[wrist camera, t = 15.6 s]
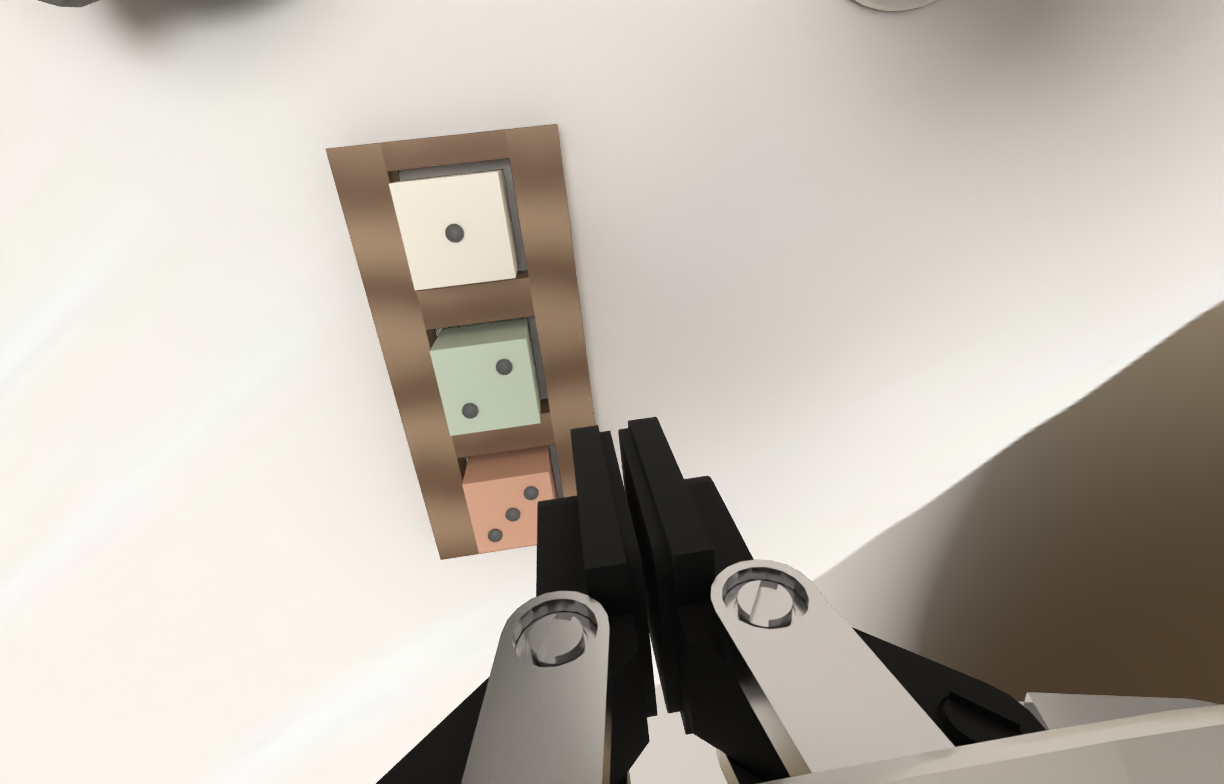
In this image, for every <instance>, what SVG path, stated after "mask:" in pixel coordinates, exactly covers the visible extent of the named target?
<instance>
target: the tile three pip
mask: <svg viewBox="0 0 1224 784" xmlns="http://www.w3.org/2000/svg"><path fill="white" fill-rule="evenodd" d="M462 486H463V490H464V494H465V498H466V502H467V506H468V510H469V514H470V518H471V523H472V527H473V531H474V535H475V539H476V543H477V547H478V551H479V554H480V553H486V552H493V551H499V550H506V549H512V548H518V547H525V546H531V545H537V506H538V501H543V500H550V499H557V492H556V486H555V480H554V474H553V468H552V462H551V456H550V450H549V445H544V446H537V447H530V448H524V449H517V450H510V451H503V452H496V453H489V454H482V455H475V456H469V458H468V462H467V467H466V471H465V475H464V479H463V483H462Z"/></svg>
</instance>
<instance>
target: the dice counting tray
mask: <svg viewBox="0 0 1224 784" xmlns="http://www.w3.org/2000/svg"><path fill="white" fill-rule="evenodd" d="M326 152H327V156H328V160H329V163H330V167H331V170H332V174H333V177H334V181H335V185H336V188H337V192H338V195H339V199H340V202H341V206H342V209H343V213H344V217H345V220H346V224H347V227H348V231H349V234H350V238H351V242H352V245H353V249H354V252H355V256H356V259H357V263H358V267H359V270H360V274H361V277H362V281H363V284H364V288H365V291H366V295H367V299H368V302H369V306H370V309H371V313H372V316H373V320H374V324H375V327H376V331H377V334H378V338H379V341H380V345H381V349H382V352H383V356H384V359H385V363H386V366H387V370H388V374H389V377H390V381H391V384H392V388H393V391H394V395H395V398H396V402H397V406H398V409H399V413H400V416H401V420H402V423H403V427H404V431H405V434H406V438H407V441H408V445H409V448H410V452H411V456H412V459H413V463H414V466H415V470H416V473H417V477H418V480H419V484H420V488H421V491H422V495H423V498H424V502H425V505H426V509H427V513H428V516H429V520H430V523H431V527H432V530H433V534H434V538H435V541H436V545H437V548H438V552H439V555H440V559H441V560H443V559H449V558H455V557H462V556H468V555H475V554H479V551H478V547H477V543H476V539H475V535H474V531H473V527H472V523H471V518H470V514H469V510H468V506H467V502H466V498H465V494H464V490H463V486H462V483H463V479H464V475H465V471H466V467H467V463H466V459H465V457H468V456H475V455H482V454H489V453H496V452H503V451H510V450H517V449H524V448H530V447H537V446H544V445H551V444H555V445H556V452H557V458H558V464H559V470H560V476H561V483H562V489H563V495H564V497H570V496H577V491H576V481H575V471H574V462H573V452H572V442H571V433H570V429H574V428H581V427H588V426H595V420H594V412H593V404H592V396H591V388H590V380H589V372H588V364H587V356H586V348H585V341H584V333H583V325H582V317H581V309H580V301H579V293H578V285H577V277H576V269H575V261H574V253H573V245H572V237H571V230H570V222H569V214H568V206H567V198H566V190H565V182H564V174H563V166H562V158H561V150H560V142H559V134H558V126H557V124H552V125H542V126H533V127H524V128H514V129H505V130H496V131H486V132H477V133H467V134H458V135H449V136H439V137H430V138H421V139H411V140H402V141H392V142H383V143H374V144H364V145H355V146H346V147H336V148H327V149H326ZM504 158H509V159H510V165H511V171H512V178H513V184H514V190H515V196H516V202H517V209H518V215H519V221H520V227H521V234H522V240H523V246H524V252H525V258H526V265H527V270H525V271H517V274H516V278H512V279H504V280H496V281H488V282H480V283H471V284H463V285H455V286H447V287H439V288H431V289H423V290H415V289H414V285H413V281H412V277H411V273H410V269H409V265H408V261H407V256H406V252H405V248H404V244H403V240H402V236H401V232H400V228H399V224H398V220H397V216H396V211H395V207H394V203H393V199H392V195H391V191H390V187H389V184H390V183H394V182H399V181H400V180H399V176H398V171H397V170H404V169H413V168H422V167H431V166H440V165H449V164H458V163H467V162H477V161H486V160H495V159H504ZM530 316H535V321H536V327H537V333H538V339H539V346H540V352H541V358H542V364H543V371H544V377H545V383H546V389H547V395H548V399H541V400H540V423H538V424H531V425H524V426H517V427H510V428H503V429H496V430H489V431H482V432H475V433H468V434H461V435H453V436H450V433H449V429H448V424H447V420H446V416H445V412H444V408H443V404H442V400H441V396H440V392H439V388H438V384H437V379H436V375H435V371H434V367H433V363H432V359H431V355H430V349H431V348H432V346H433V344H434V342H435V341H436V339H437V336H436V332H435V329H436V328H444V327H452V326H460V325H467V324H475V323H483V322H491V321H499V320H506V319H514V318H522V317H530ZM531 546H533V545H531ZM525 547H526V546H525ZM518 548H520V547H518ZM512 549H513V548H512ZM506 550H507V549H506ZM499 551H501V550H499ZM493 552H494V551H493ZM486 553H488V552H486ZM480 554H481V553H480Z"/></svg>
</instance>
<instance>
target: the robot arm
mask: <svg viewBox="0 0 1224 784" xmlns="http://www.w3.org/2000/svg"><path fill="white" fill-rule="evenodd" d="M855 1H856V2H858V3H860V4H862V5H863V6H866V7H870V8H874V9H877V10H881V11H904V10H909V9H913V8H918V7H921V6H924V5H926V4H929V3H931V2H934V1H937V0H855ZM570 433H571V442H572V452H573V462H574V471H575V481H576V491H577V496H570V497H563V498H557V499H550V500H543V501H538V506H537V583H536V597H535V598H533V599H530V600H529V601H527V602H526V603H525V604H523V605H522V606H520V607H519V608H517V610H516V611H515V612H514V613H513V614H512V615H511V616H510V617H509V619H508V620H507V622H506V624H505V626H504V628H503V631H502V633H501V636H500V640H499V644H498V647H497V651H496V655H495V659H494V662H493V666H492V670H491V674H490V677H489V678H488V679H486V680H485V681H484V682H483V683H482V684H481V685H480V686H479V687H478V688H477V689H476V690H475V691H474V692H473V693H472V694H471V695H469V696H468V697H467V698H466V699H465V700H464V701H463V702H462V703H461V704H460V705H459V706H458V707H457V708H456V709H455V710H454V711H452V712H451V713H450V714H449V715H448V716H447V717H446V718H445V719H444V720H443V721H442V722H441V723H440V724H439V725H438V726H437V727H435V728H434V729H433V730H432V731H431V732H430V733H429V734H428V735H427V736H426V737H425V738H424V739H423V740H422V741H421V742H419V743H418V744H417V745H416V746H415V747H414V748H413V749H412V750H411V751H410V752H409V753H408V754H407V755H406V756H405V757H404V758H402V759H401V760H400V761H399V762H398V763H397V764H396V765H395V766H394V767H393V768H392V769H391V770H390V771H389V772H388V773H387V774H385V775H384V776H383V777H382V778H381V779H380V780H379V781H378V782H377V783H376V784H631V782H630V774H629V769H630V768H631V766H632V765H633V764H634V762H635V761H636V759H637V758H638V756H639V755H640V754H641V752H642V751H643V750H644V748H645V747H646V745H647V744H648V742H649V734H648V724H647V717H651V716H657V705H656V695H655V685H654V675H653V665H652V655H651V645H650V637H651V642H652V646H653V651H654V655H655V660H656V664H657V669H658V673H659V677H660V682H661V686H662V691H663V695H664V700H665V704H666V708H667V711H668V713H673V712H679V711H680V713H681V717H682V721H683V725H684V729H685V733H686V734H692V733H693V734H695V735H697V736H698V737H700V738H701V739H703V740H704V741H706V742H707V743H709V744H711V745H712V746H714V747H716V748H717V756H718V760H719V764H720V767H721V770H722V772H723V774H724V776H725V778H726V781H727V783H728V784H1224V705H1218V704H1215V703H1210V702H1204V701H1198V700H1192V699H1176V698H1151V697H1127V696H1101V695H1075V694H1052V693H1027V695H1026V698H1025V702H1018V701H1016V700H1015V699H1014V698H1013V697H1011V696H1010V695H1008V694H1007V693H1005V692H1003V691H1001V690H999V689H997V688H995V687H993V686H991V685H989V684H987V683H985V682H982V681H980V680H978V679H975V678H973V677H970V676H968V675H966V674H963V673H961V672H958V671H956V670H953V669H951V668H949V667H946V666H944V665H941V664H939V663H937V662H934V661H932V660H930V659H927V658H925V657H922V656H920V655H917V654H915V653H913V652H910V651H908V650H905V649H903V648H900V647H898V646H896V645H893V644H891V643H888V642H886V641H884V640H881V639H879V638H876V637H874V636H871V635H869V634H867V633H864V632H862V631H859V630H857V629H855V628H852V627H851V626H850V625H849V624H848V623H847V622H846V620H845V619H844V618H843V617H842V616H841V615H840V613H839V612H838V611H837V610H836V609H835V608H834V607H833V606H832V604H831V603H830V602H829V601H828V600H827V599H826V597H825V596H824V595H823V594H822V593H821V592H820V591H819V589H818V588H817V587H816V586H815V585H814V583H813V582H812V581H811V580H809V579H808V578H807V577H806V576H805V575H804V574H803V573H801V572H800V571H798V570H796V569H794V568H792V567H790V566H788V565H786V564H782V563H778V562H775V561H771V560H754V559H753V557H752V555H751V554H750V552H749V550H748V548H747V546H746V544H745V542H744V540H743V538H742V536H741V534H740V532H739V530H738V529H737V527H736V525H735V523H734V521H733V519H732V517H731V515H730V513H729V511H728V509H727V507H726V505H725V504H724V502H723V500H722V498H721V496H720V494H719V492H718V490H717V488H716V486H715V484H714V482H713V481H712V479H711V478H710V477H709V476H703V477H696V478H690V479H683V476H682V474H681V472H680V469H679V467H678V465H677V462H676V460H675V458H674V455H673V453H672V451H671V449H670V446H669V444H668V442H667V439H666V437H665V435H664V433H663V430H662V428H661V426H660V423H659V421H658V419H657V417H652V418H645V419H637V420H630V421H628V428H626V429H619V442H620V451H621V461H622V470H623V479H624V485H623V481H622V477H621V473H620V469H619V465H618V461H617V457H616V453H615V449H614V445H613V441H612V437H611V433H610V431H605V432H599V428H598V425H595V426H588V427H581V428H574V429H570ZM624 488H625V490H624ZM649 633H650V635H649Z"/></svg>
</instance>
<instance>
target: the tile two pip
mask: <svg viewBox="0 0 1224 784" xmlns="http://www.w3.org/2000/svg"><path fill="white" fill-rule="evenodd" d="M430 355H431V359H432V363H433V367H434V371H435V375H436V379H437V384H438V388H439V392H440V396H441V400H442V404H443V408H444V412H445V416H446V420H447V424H448V429H449V433H450V436H453V435H461V434H468V433H475V432H482V431H489V430H496V429H503V428H510V427H517V426H524V425H531V424H538V423H540V390H539V384H538V378H537V372H536V366H535V360H534V353H533V347H532V341H531V335H530V329H529V323H528V318H524V319H516V320H508V321H501V322H493V323H485V324H477V325H470V326H462V327H454V328H446V329H442V330H441V332H440V333H439V335H438V337H437V339H436V341H435V342H434V344H433V346H432V348H431V349H430Z"/></svg>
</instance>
